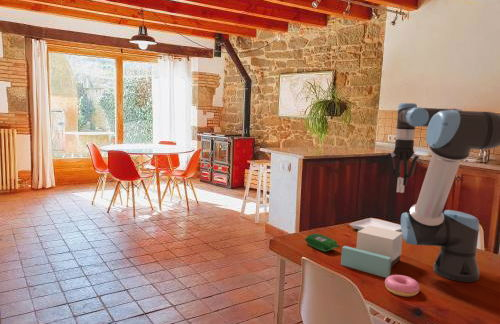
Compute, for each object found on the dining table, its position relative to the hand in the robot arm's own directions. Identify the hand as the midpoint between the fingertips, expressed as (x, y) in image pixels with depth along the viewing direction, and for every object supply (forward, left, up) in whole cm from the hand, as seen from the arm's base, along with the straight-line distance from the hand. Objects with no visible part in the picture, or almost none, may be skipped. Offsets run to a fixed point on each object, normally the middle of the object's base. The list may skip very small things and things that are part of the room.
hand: (400, 192), depth 172 cm
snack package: (+18, +31, -25) cm, 43 cm away
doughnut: (-24, +42, -25) cm, 54 cm away
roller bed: (-5, +26, -24) cm, 36 cm away
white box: (-4, +23, -22) cm, 32 cm away
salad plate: (+17, -14, -25) cm, 33 cm away
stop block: (-7, +37, -24) cm, 45 cm away
